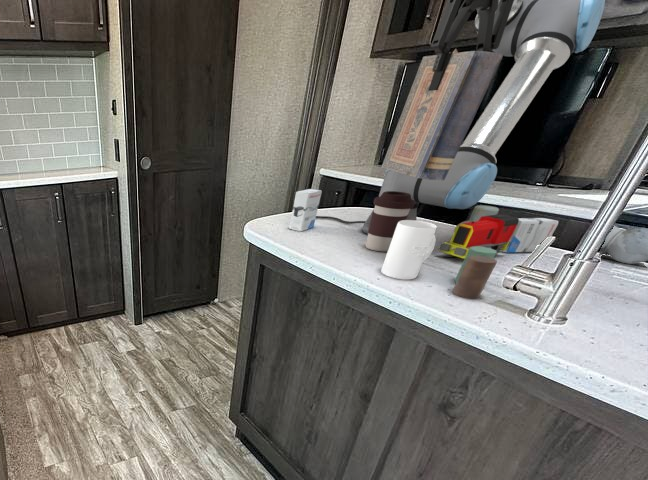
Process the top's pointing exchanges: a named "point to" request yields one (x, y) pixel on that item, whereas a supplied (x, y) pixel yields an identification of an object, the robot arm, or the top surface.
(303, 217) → the ink box
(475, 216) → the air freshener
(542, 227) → the ink box
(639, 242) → the figurine
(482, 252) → the sage peg
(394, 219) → the coffee cup
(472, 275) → the walnut peg
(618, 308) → the top surface
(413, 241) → the mug
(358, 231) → the top surface
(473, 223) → the toy train
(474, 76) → the book
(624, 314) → the top surface
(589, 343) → the top surface
